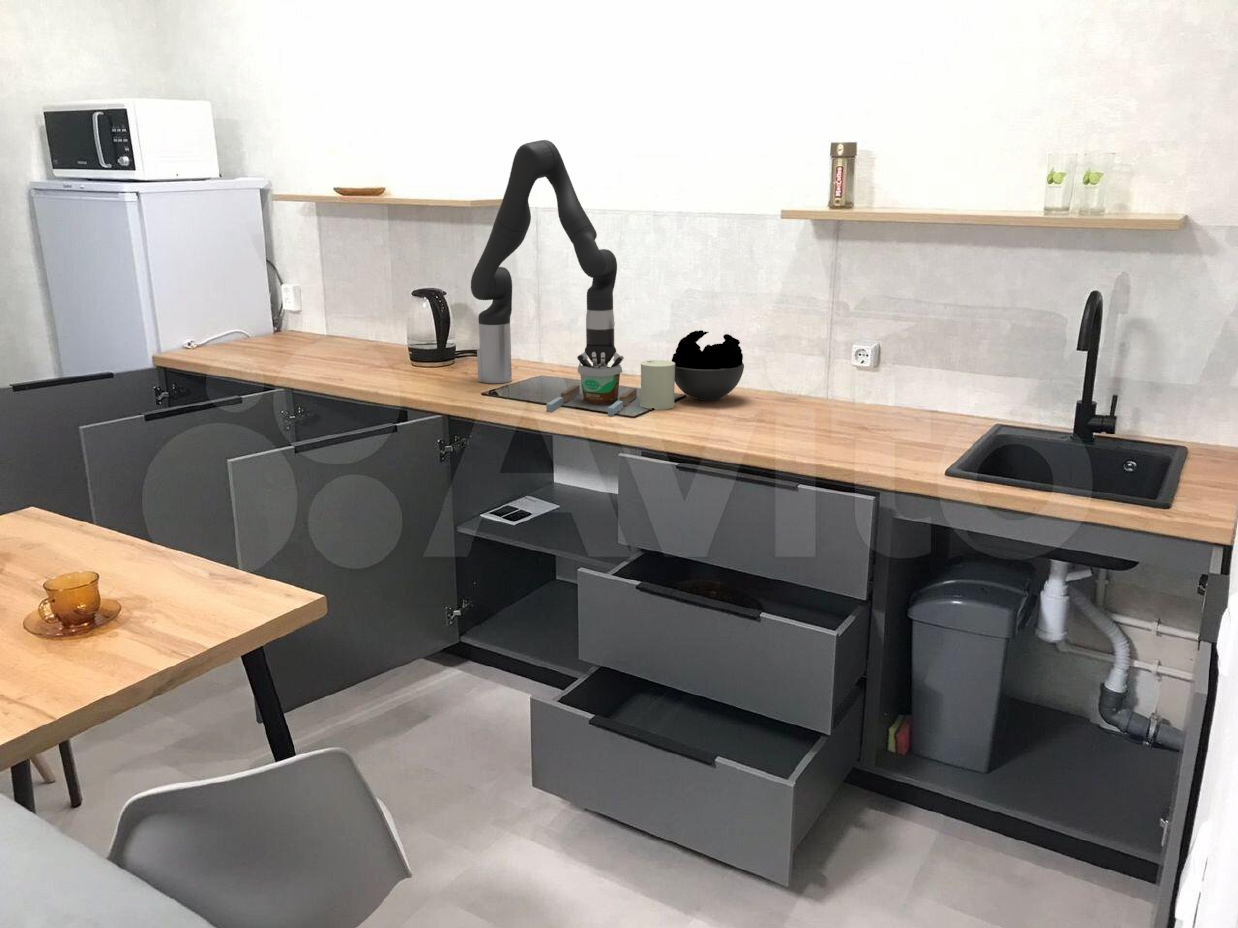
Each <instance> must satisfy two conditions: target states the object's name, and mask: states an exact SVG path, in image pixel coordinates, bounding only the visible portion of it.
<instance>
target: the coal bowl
mask: <svg viewBox="0 0 1238 928" xmlns="http://www.w3.org/2000/svg"><path fill="white" fill-rule="evenodd" d="M707 334H709V331H704V330H694V331H691V332H689V333H688V334H687V335H686V336H683V338H680V340H679V341H678V344H677V346H676V349H675V353H673V354H672V358H671V361H672V362H674V363H675V381H674V384H676V386H677V387H678V389H680V391H681V392H682V393H684V394H685V395H687V396H689V397H690V398H693V399H694V400H695V399H696V400H698V401H714V400H715V401H716V400H718V399H721V398H723V397H725V396H727V395H728V394H730V393H731V392H732V391H733V390H734V389H735V388H736V387H737V386H738V384H739V383H740V380H741V378H742V376H743V374H744V371H745V364H744V363H743V360H744V354H743V353H742V351H743V350H742V348H741V346H740V344H741V340H739V339H737V338H735V337H733V336H732V335H731V334H729V333H727V334H726V333H725V334H723V336H722V337H723V339H724V341H723V342H722V343H714V344H712V345H711V344H706V345H705V346H704V347H703V348H702V349H703V350H702V349H701V346H700V345H699V344H698V343H697V342H698V341H699V340H700V339H701V338H703V337H704V336H705V335H707Z"/></svg>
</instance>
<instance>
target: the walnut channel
mask: <svg viewBox="0 0 1238 928" xmlns="http://www.w3.org/2000/svg"><path fill="white" fill-rule="evenodd" d="M637 391H638V389H637V387H636V388H635V387H631V388H630V389H628V390H627V391H626V392H624V393H623V394H622V395H620V396H619V401H623V407H626V405H627V404H628V403H629V404H631V403H632V400H633V399H634V398H635V399H636V398H638V396H637V395H638V394H637V393H638V392H637ZM578 394H579V395H580V394H581V393H580V384H573V385H571V386H570V387H569V388H567V389H565V390H564V391H562V392H561V393H560V397H563V402H567V401H568V402H569V400H570V399H571V400H572V398H573V399H574V398H576V397H577V396H579V395H578ZM575 396H576V397H575ZM635 399H634V400H635ZM571 400H570V401H571ZM634 400H633V401H634ZM568 402H567V403H568ZM629 404H628V405H629ZM628 405H627V406H628Z"/></svg>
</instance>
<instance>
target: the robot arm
mask: <svg viewBox="0 0 1238 928" xmlns="http://www.w3.org/2000/svg"><path fill="white" fill-rule="evenodd" d="M542 178H546V179H547V181H548V182H549V184H550V185H551V187H552V189H553V191H554V193H555V197H556V206H557V214H558V218H559V222H560V224H561V226H562V229H563V230H564V232H565V234H566V235H567V237H568V239H569V241H570V242H571V244H572V245H573V249H574V252H575V255H576V258H577V261H578V263H579V266H580V268H581V270H582V271H583V272H584V274H586V275H587V276H588V277H589V278H592V283H591V286H589V288H588V289H587V291H586V315H585V332H586V333H585V335H586V336H585V338H586V340H585V341H586V346H585V348H584V351H583V352H582V353H581V354H579V355H577V360H578V361H579V363H580V364H581V366H596V365H601V366H607V367H609V363H610V362H611V361H612V359H613V363H612V364H611V366H610V367H615V366H618V365H621V363H622V362H623V361H624V359H625V358H624V356H623V355H620V354H619V353H618V352H617V349H616V347H615V323H616V322H615V313H614V289H615V285H616V279H617V274H618V272H617V271H618V263H617V261H618V260H617V258H616V255H615V254H614V253H613V252H612V251H611V250H609V249H605V248H601V249H599V246H598V244H597V241H596V239H597V238H598V237H597V236H598V233H597V231H596V229H595V227H594V225H593V224H592V222H591V220H590V219H589V217H588V215H587V213H586V211H585V210H584V208H583V206H582V204H581V202H580V200H579V198H578V195H577V193H576V190H575V188H574V186H573V183H572V180H571V178H570V175H569V173H568V171H567V168H566V164H565V162H564V160H563V158H562V156H561V154H560V151H559V149H558V147H557V146H556V145H555V144H554V143H553V142H552V141H550V140H548V139H542V140H541V139H540V140H535V141H531V142H525V143H524V144H522V145H520V146H519V147H518V148H517V150H516V152H515V155H514V157H513V161H512V165H511V169H510V173H509V178H508V182H507V185H506V189H505V192H504V195H503V198H502V201H501V204H500V206H499V209H498V211H497V214H496V217H495V218H494V219H495V220H494V222H493V224H492V228H491V233H490V235H489V237H488V240H487V242H486V245H485V246H484V247H485V248H484V250H483V251H482V254H481V256H480V257H479V260H478V262H477V264H476V266H475V268H474V270H473V272H472V276H471V280H470V291H471V294H472V296H473V297H474V298H475V299H477V300H480V301H491V300H492V303H491V304H490V306H489V307H488V308H486V309H484V310H483V311H481V312H480V313H479V314H478V317H477V318H478V319H477V320H478V338H479V341H478V342H479V348H478V349H477V350H476V358H477V359H476V360H477V363H476V364H477V382H481V383H486V384H503V383H510V382H511V381H512V380H513V372H512V369H513V368H512V342H511V341H512V338H511V335H512V334H511V316H512V311H513V280H512V275H511V272H510V270H508V269H507V268H506V267H503V266H501V264H502V263H503V262H504V261H505V260H506V259H507V258H508V257H510V255H512V254H513V253H514V252H515V251H516V250H517V249H519V247H520V246H521V245H522V244H523V242H524V240H525V238H526V236H527V233H528V232H529V231H528V230H529V227H530V226H531V220H532V215H531V208H530V204H529V198H530V195H531V192H532V189H533V187H534V185H535V183H536V181H537V180H538V179H542ZM588 359H589V360H590V361H591V363H592V364H591V363H590V362H589V360H588Z"/></svg>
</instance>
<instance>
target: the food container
mask: <svg viewBox="0 0 1238 928" xmlns="http://www.w3.org/2000/svg"><path fill="white" fill-rule="evenodd" d="M577 373H578V374H580V383H581V388H582V389H581V390H582V397H583V401H584V402H585V403H587V404H590V403H592V404H591V405H609V404H612V403H613V404H614V403H615V402H616V401H619V400H618V399H619V391H620V390H619V388H620V376H621V374H622V373H623V367H622V366H621V364H619V365H618V366H615V367H611V366H608V367H607V366H601V365H596V366H593V365H592V366H583V365H582V364H581V363H580V362H579V363H578V366H577ZM608 403H609V404H608Z"/></svg>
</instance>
